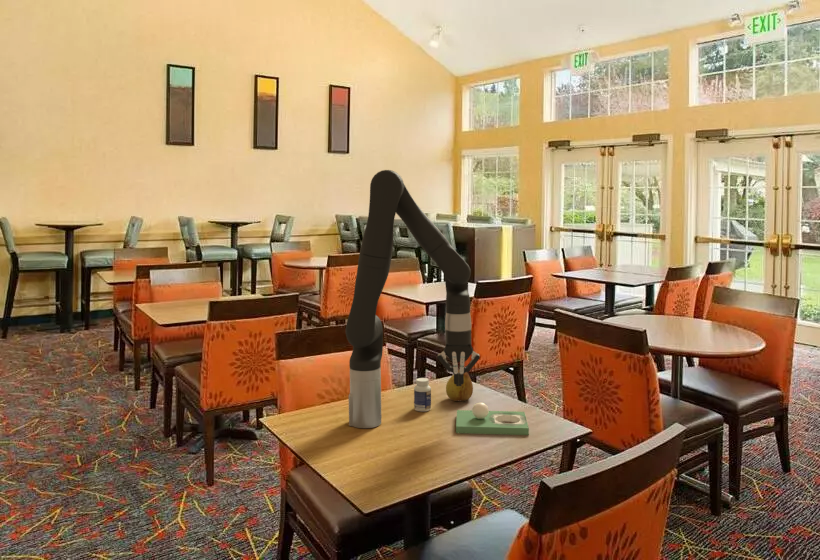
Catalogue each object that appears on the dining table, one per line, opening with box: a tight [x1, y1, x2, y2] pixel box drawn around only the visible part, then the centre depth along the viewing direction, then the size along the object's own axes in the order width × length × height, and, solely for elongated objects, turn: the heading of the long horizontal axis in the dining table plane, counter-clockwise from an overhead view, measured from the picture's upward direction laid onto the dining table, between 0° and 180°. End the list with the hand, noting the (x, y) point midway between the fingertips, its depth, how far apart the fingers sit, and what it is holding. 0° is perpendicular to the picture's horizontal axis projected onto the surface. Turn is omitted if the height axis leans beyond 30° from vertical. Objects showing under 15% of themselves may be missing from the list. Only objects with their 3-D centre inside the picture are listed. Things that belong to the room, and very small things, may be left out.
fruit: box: [445, 365, 474, 402], centre depth 210 cm, size 9×9×12 cm
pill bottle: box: [413, 377, 432, 413], centre depth 200 cm, size 5×5×10 cm
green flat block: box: [455, 409, 530, 436], centre depth 186 cm, size 21×14×2 cm
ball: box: [471, 401, 490, 419], centre depth 186 cm, size 5×5×5 cm
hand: (458, 385), depth 185 cm, fingers closed
